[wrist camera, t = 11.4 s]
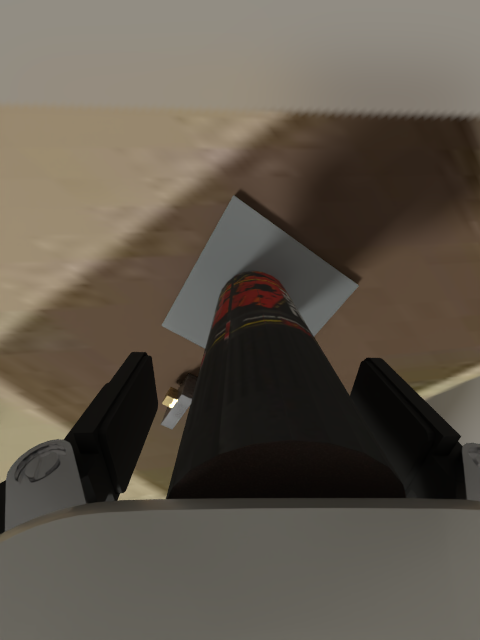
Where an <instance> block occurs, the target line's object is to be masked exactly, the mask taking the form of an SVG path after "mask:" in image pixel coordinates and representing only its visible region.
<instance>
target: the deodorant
mask: <svg viewBox="0 0 480 640" xmlns="http://www.w3.org/2000/svg"><path fill="white" fill-rule="evenodd" d="M225 498H406V494H405V490H404V485H403V483H402V482H401V480H400V478H399V477H398V475H397V473H396V472H395V470H394V468H393V467H392V465H391V464H390V462H389V460H388V459H387V457H386V455H385V454H384V452H383V450H382V449H381V447H380V445H379V444H378V442H377V440H376V439H375V437H374V435H373V434H372V432H371V430H370V429H369V427H368V425H367V424H366V422H365V420H364V419H363V417H362V416H361V414H360V412H359V411H358V409H357V407H356V406H355V404H354V402H353V401H352V399H351V397H350V396H349V394H348V392H347V391H346V389H345V387H344V386H343V384H342V382H341V381H340V379H339V377H338V376H337V374H336V373H335V371H334V369H333V368H332V366H331V364H330V363H329V361H328V359H327V358H326V356H325V354H324V353H323V351H322V349H321V348H320V346H319V344H318V343H317V341H316V339H315V338H314V336H313V334H312V333H311V331H310V330H309V328H308V326H307V325H306V323H305V321H304V320H303V318H302V316H301V315H300V313H299V311H298V310H297V308H296V306H295V305H294V303H293V301H292V300H291V298H290V296H289V295H288V293H287V291H286V290H285V288H284V287H283V285H282V284H281V283H280V281H279V280H277V279H276V278H275V277H273V276H272V275H270V274H267V273H265V272H260V271H248V272H243V273H240V274H238V275H236V276H234V277H233V278H231V279H230V280H229V281H228V282H227V283H226V284H225V286H224V287H223V288H222V290H221V293H220V295H219V298H218V302H217V306H216V310H215V313H214V317H213V321H212V325H211V329H210V333H209V336H208V340H207V344H206V348H205V352H204V355H203V359H202V363H201V367H200V371H199V375H198V378H197V382H196V386H195V390H194V394H193V398H192V401H191V405H190V409H189V413H188V417H187V420H186V424H185V428H184V432H183V436H182V440H181V443H180V447H179V451H178V455H177V459H176V463H175V466H174V470H173V474H172V478H171V482H170V486H169V489H168V493H167V497H166V499H225Z"/></svg>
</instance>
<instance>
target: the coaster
mask: <svg viewBox="0 0 480 640" xmlns="http://www.w3.org/2000/svg"><path fill="white" fill-rule="evenodd" d="M248 271H260V272H265V273H267V274H270V275H272V276H273V277H275V278H276V279H277V280H279V281H280V283H281V284H282V285H283V287H284V288H285V290H286V291H287V293H288V295H289V296H290V298H291V300H292V301H293V303H294V305H295V306H296V308H297V310H298V311H299V313H300V315H301V316H302V318H303V320H304V321H305V323H306V325H307V326H308V328H309V330H310V331H311V333H312V334H313V336H315V335H316V334H317V332H318V331H319V330H320V329H321V328H322V327H323V326H324V324H325V323H326V322H327V321H328V320H329V319H330V318H331V317H332V315H333V314H334V313H335V312H336V311H337V310H338V309H339V307H340V306H341V305H342V304H343V303H344V302H345V301H346V300H347V298H348V297H349V296H350V295H351V294H352V293H353V292H354V290H355V289H356V288H357V287H358V286H359V285H357V284H356V283H354V282H353V281H352V280H350V279H349V278H348V277H346V276H345V275H343V274H342V273H341V272H339V271H338V270H336V269H335V268H334V267H332V266H331V265H330V264H328V263H327V262H325V261H324V260H323V259H321V258H320V257H318V256H317V255H316V254H314V253H313V252H312V251H310V250H309V249H307V248H306V247H305V246H303V245H302V244H300V243H299V242H298V241H296V240H295V239H293V238H292V237H291V236H289V235H288V234H287V233H285V232H284V231H282V230H281V229H280V228H278V227H277V226H275V225H274V224H273V223H271V222H270V221H269V220H267V219H266V218H264V217H263V216H262V215H260V214H259V213H257V212H256V211H255V210H253V209H252V208H251V207H249V206H248V205H246V204H245V203H244V202H242V201H241V200H239V199H238V198H237V197H235V196H234V195H233V197H232V199H231V201H230V203H229V204H228V206H227V208H226V210H225V212H224V214H223V215H222V217H221V219H220V221H219V223H218V224H217V226H216V228H215V230H214V232H213V233H212V235H211V237H210V239H209V241H208V242H207V244H206V246H205V248H204V250H203V251H202V253H201V255H200V257H199V259H198V261H197V262H196V264H195V266H194V268H193V270H192V271H191V273H190V275H189V277H188V279H187V280H186V282H185V284H184V286H183V288H182V289H181V291H180V293H179V295H178V297H177V298H176V300H175V302H174V304H173V306H172V308H171V309H170V311H169V313H168V315H167V317H166V318H165V320H164V322H163V324H162V326H163V327H165V328H167V329H169V330H171V331H173V332H174V333H176V334H178V335H180V336H182V337H184V338H186V339H188V340H190V341H191V342H193V343H195V344H197V345H199V346H201V347H203V348H206V344H207V340H208V336H209V333H210V329H211V325H212V321H213V317H214V313H215V310H216V306H217V302H218V298H219V295H220V293H221V290H222V288H223V287H224V286H225V284H226V283H227V282H228V281H229V280H230V279H231V278H233V277H234V276H236V275H238V274H240V273H243V272H248Z"/></svg>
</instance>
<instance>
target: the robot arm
mask: <svg viewBox="0 0 480 640" xmlns="http://www.w3.org/2000/svg"><path fill="white" fill-rule="evenodd" d="M350 397H351V399H352V401H353V402H354V404H355V406H356V407H357V409H358V411H359V412H360V414H361V416H362V417H363V419H364V420H365V422H366V424H367V425H368V427H369V429H370V430H371V432H372V434H373V435H374V437H375V439H376V440H377V442H378V444H379V445H380V447H381V449H382V450H383V452H384V454H385V455H386V457H387V459H388V460H389V462H390V464H391V465H392V467H393V468H394V470H395V472H396V473H397V475H398V477H399V478H400V480H401V482H402V483H403V485H404V490H405V494H406V498H225V499H153V500H120V501H117V500H118V497H119V495H120V493H124V492H125V491H126V489H127V487H128V484H129V481H130V479H131V476H132V474H133V471H134V468H135V466H136V463H137V461H138V458H139V456H140V453H141V450H142V448H143V445H144V443H145V440H146V438H147V435H148V432H149V430H150V427H151V425H152V422H153V419H154V417H155V414H156V412H157V408H158V399H157V392H156V385H155V378H154V371H153V364H152V357H151V356H148V355H147V353H146V352H132V353H131V354H130V355H129V356H128V358H127V359H126V360H125V362H124V363H123V364H122V366H121V367H120V369H119V370H118V371H117V373H116V374H115V375H114V377H113V378H112V379H111V381H110V382H109V383H107V384H105V385H104V386H103V388H102V389H101V390H100V392H99V393H98V394H97V396H96V397H95V398H94V400H93V401H92V402H91V404H90V405H89V406H88V408H87V409H86V410H85V412H84V413H83V415H82V416H81V417H80V419H79V420H78V421H77V423H76V424H75V425H74V427H73V428H72V429H71V431H70V432H69V433H68V435H67V436H66V437H65V439H64V440H59V439H56V440H50V441H47V442H44V443H41V444H39V445H37V446H35V447H33V448H31V449H30V450H28V451H27V452H26V453H24V454H23V455H22V456H20V457H19V458H18V459H17V460H16V462H15V463H14V464H13V465H12V466H11V468H10V470H9V471H8V474H7V478H6V480H5V481H4V482H2V483H0V640H480V444H476V443H466V444H465V445H463V446H462V445H461V444H460V443H459V442H458V440H459V439H460V437H461V436H460V435H459V434H458V433H457V432H456V431H455V430H454V429H453V428H452V427H451V426H450V425H449V424H448V423H447V422H446V421H445V420H444V419H443V418H442V417H441V416H440V415H439V414H438V413H437V412H436V411H435V410H434V409H433V408H432V407H431V406H430V405H429V404H428V403H427V402H426V401H425V400H424V399H423V398H422V397H420V396H419V395H418V394H417V393H416V392H415V391H414V390H413V389H412V388H411V387H410V386H409V385H408V384H407V383H406V382H405V381H404V380H403V379H402V378H401V377H400V376H399V375H398V374H397V373H396V372H395V371H394V370H393V369H392V368H391V367H390V366H389V365H388V364H387V363H386V362H385V361H384V360H383V359H381V358H366V359H365V360H364V361H362V362H361V364H360V367H359V370H358V373H357V376H356V379H355V382H354V385H353V388H352V391H351V395H350Z"/></svg>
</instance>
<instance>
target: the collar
mask: <svg viewBox="0 0 480 640" xmlns="http://www.w3.org/2000/svg"><path fill="white" fill-rule="evenodd" d="M196 382H197V377H195V376H193V375H191V374H189V373H188V375H187V376H186V378H185V379H184V381H183V382H182V384H181V385H180V387H179V388H178V390H177V389H174V388H172V387H170V389H169V390H168V392H167V393H166V395H165V398H164V400H163V402H162V404H164V405H166V406H168V407H167V410H166V413H165V415H164V418H163V420H162V423H161V425H163V426H166V427H168V428H170V429H173V428H174V426H175V425H176V424H177V422H178V421H179V420H180V418H181V417H182V415H183V414H184V413H185V411H186V410H187V409H188V407H189V406H190V404H191V401H192V398H193V394H194V390H195V386H196ZM183 432H184V431H183ZM182 436H183V435H182ZM181 440H182V439H181ZM180 443H181V442H180ZM179 447H180V446H179ZM178 451H179V450H178ZM177 455H178V454H177Z"/></svg>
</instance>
